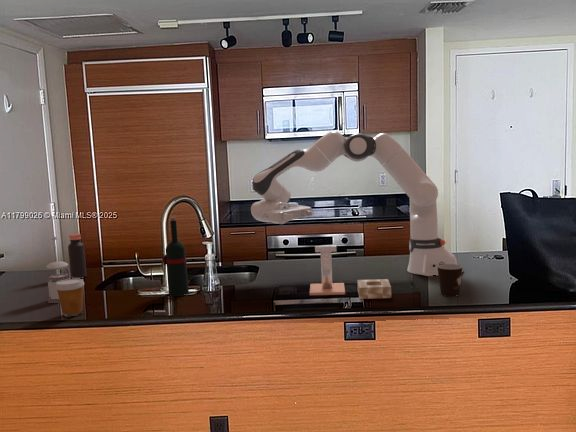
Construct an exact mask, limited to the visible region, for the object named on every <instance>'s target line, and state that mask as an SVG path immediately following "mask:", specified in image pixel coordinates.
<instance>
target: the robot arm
mask: <svg viewBox="0 0 576 432" xmlns="http://www.w3.org/2000/svg"><path fill="white" fill-rule="evenodd" d="M341 156H344V157H345V158H348V159H349V160H350V161H352V162H353V161H354V162H362V161H364V160H366V159H367V158H368V157H371V158H372V157H373V158H374V159H376V160H377V162H379V164H380V165H381V166H382V167H383V168H384V170H385V171H386V172H387V174H388V175H390V177H391V178H393V180H394V181H395V182H396V183H397V186H399V187H400V188H401V190H402V191H403V192H404V193H405V194H406V195H407V197H408V198H409V221H410V222H409V224H410V226H409V227H410V229H409V230H410V231H409V232H410V235H409V236H410V237H409V243H408V244H409V245H408V247H409V248H408V249H409V252H410V253H409V260H408V266H407V272H408V273H410V274H415V275H422V276H426V277H434V276H433V275H436V276H438V268H437V266H438V265H442V264H457V265H458V261H457V258H456V256H455V255H454V253H452V252H450V251H449V249H446V248H445V247H443V246H445V245H446V240H444V239H441V238H439V236H438V234H439V231H438V229H439V228H438V210H437V209H438V208H437V199H438V197H439V189H438V187H437V186H436V183H434V181H433V180H432V179H431V178H430V177H429V176H428V175H427V174H426V173H425V171H424V170H423V169H422V168H421V167H420V166H419V164H417V163H416V161H415V160H414V159H413V158H412V157H411V155H410V154H409V153H408V152H407V151H406V150H405V149H404V148H403V147H402V146H401V144H400V143H399V142H397V141H396V140H395V139H394V138H393V137H392V136H391V135H389V134H388V133H386V132H381V133H378V134H376V135H375V136H373V137H372V136H369V135H366V134H365V133H360V132H358V133H353V134H350V136H348V137H345V136H343V134H342V133H341V132H338V131H336V130H332V131H329V132H327V133H326V134H325V135H323V136H322V137H320V138H319V139H318V140H317V141H315V142H314V143H313V144H312V145H310V146H308V147H306V148H303V149H301V148H297V149H295V150H293V151H292V152H290V153H287V155H285V156H284V157H282V158H281V159H280V160H278V161H277V162H275V163H273V164H272V165H271V166H268V167H267V168H265V169H264V170H261V171H259V172H258V173H257V174H255V176H254V177H253V179H252V190H253V192H255V193H257V194H258V195H259V196H261V197H262V199H261V200H259V201H255V202H253V203H252V204H251V206H250V213H251V215H252V217H253V219H255V220H256V221H259V222H263V223H270V224H279V225H284V224H286V223H288V222H289V221H294V220H298V219H301V218H307V217H313V214H314V212H313V210H312V207H311V206H307V205H302V204H301V205H299V204H298V203H292V202H291V203H290V201H291V191H290V190H289V189H288V188H287V187H286V186H285V185H284V184H282V183H281V182H280V180H278V179H277V178H279V176H280V177H281V175H283V174H284V173H286V172H287V171H289V170H290V169H292V168H295V167H299V168H303V169H306V170H308V171H311V172H314V173H315V172H316V173H317V172H322V171H324V170H325V169H327V168H328V167H329V166H330V165H331V164H333V162H334V161H336V159H338V158H339V157H341ZM462 272H463V273H464V270H463V269H462Z"/></svg>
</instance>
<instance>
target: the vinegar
mask: <svg viewBox="0 0 576 432" xmlns="http://www.w3.org/2000/svg"><path fill="white" fill-rule="evenodd" d="M68 239H69V242H70V243H69V244H68V245H67V250H68V251H67V252H68V262H69V271H70V277H71V276H73V277H84V276H87V277H88V274H87V263H86V252H85V251H86V250H85V245H84V243H82V236H81V233H71V234H69V235H68Z"/></svg>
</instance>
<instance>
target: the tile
mask: <svg viewBox="0 0 576 432" xmlns="http://www.w3.org/2000/svg"><path fill="white" fill-rule="evenodd" d="M309 285H310V286H309V287H310V288H309V296H331V295H332V296H335V295H336V296H337V295H340V296H341V295H346V289H345V283H344V282H334V283H333V282H332V286H333V288H331V289H323V288H322V282H321V283H310V284H309Z"/></svg>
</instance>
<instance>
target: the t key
mask: <svg viewBox="0 0 576 432" xmlns="http://www.w3.org/2000/svg"><path fill="white" fill-rule="evenodd" d="M314 252H315V253H320V267H321V268H320V271H321V273H320V274H321V283H322V288H323V289H331V288H333V286H332V283H333V264H332V263H333V261H332V253H333V252H335V253H336V252H338V251H337V245H336V244H335V245H334V244H333V245H332V244H331V245H315V246H314Z"/></svg>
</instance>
